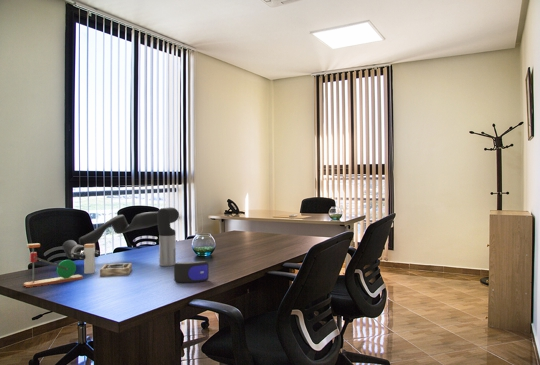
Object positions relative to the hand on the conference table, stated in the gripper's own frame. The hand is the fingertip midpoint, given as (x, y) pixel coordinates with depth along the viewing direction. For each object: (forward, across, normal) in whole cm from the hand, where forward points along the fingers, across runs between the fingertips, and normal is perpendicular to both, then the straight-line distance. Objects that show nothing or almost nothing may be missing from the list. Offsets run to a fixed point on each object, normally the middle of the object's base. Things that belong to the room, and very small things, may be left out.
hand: (91, 256), depth 214 cm
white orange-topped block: (-2, 0, +9) cm, 9 cm away
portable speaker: (+53, +28, +9) cm, 61 cm away
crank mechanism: (+8, -20, +9) cm, 23 cm away
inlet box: (+8, +10, +9) cm, 16 cm away
